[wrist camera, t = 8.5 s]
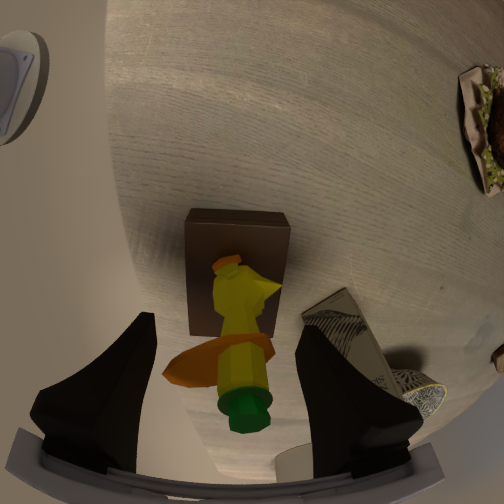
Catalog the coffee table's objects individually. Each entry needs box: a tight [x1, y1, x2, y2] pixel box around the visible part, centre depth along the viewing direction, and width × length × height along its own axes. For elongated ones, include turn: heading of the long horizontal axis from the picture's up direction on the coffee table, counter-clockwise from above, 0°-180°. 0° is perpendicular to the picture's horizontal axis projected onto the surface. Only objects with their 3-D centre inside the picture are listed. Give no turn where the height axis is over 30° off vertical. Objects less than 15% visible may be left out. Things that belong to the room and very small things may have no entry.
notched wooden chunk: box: [493, 346, 504, 374], centre depth 35 cm, size 7×6×5 cm
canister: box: [274, 443, 313, 497], centre depth 35 cm, size 16×16×20 cm
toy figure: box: [162, 254, 283, 434], centre depth 14 cm, size 7×4×12 cm, turn 114°
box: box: [302, 289, 405, 401], centre depth 20 cm, size 5×4×13 cm
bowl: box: [390, 368, 447, 422], centre depth 29 cm, size 16×16×8 cm
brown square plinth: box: [184, 208, 291, 338], centre depth 21 cm, size 10×7×3 cm
